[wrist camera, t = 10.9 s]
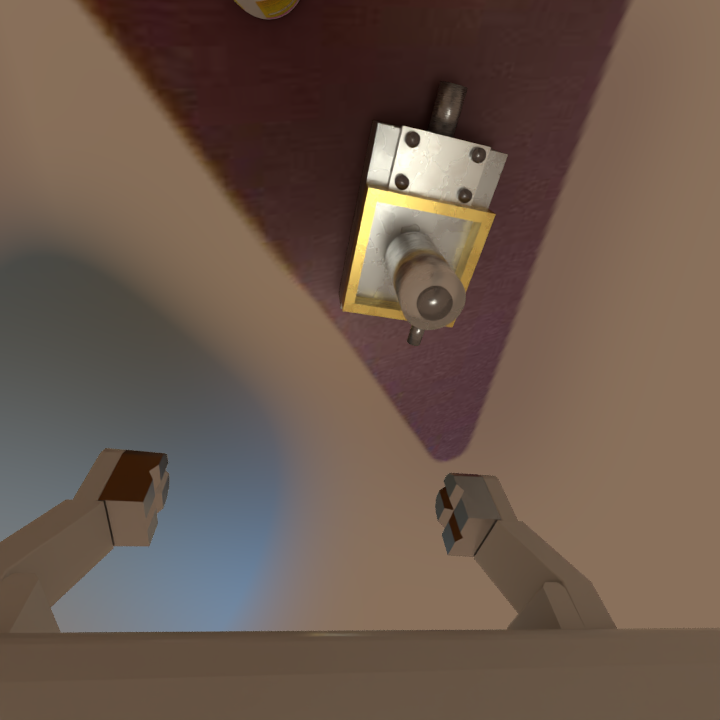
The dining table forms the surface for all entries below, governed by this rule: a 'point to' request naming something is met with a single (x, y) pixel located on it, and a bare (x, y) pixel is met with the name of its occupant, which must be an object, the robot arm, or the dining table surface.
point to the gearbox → (419, 202)
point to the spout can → (423, 284)
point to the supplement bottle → (267, 7)
